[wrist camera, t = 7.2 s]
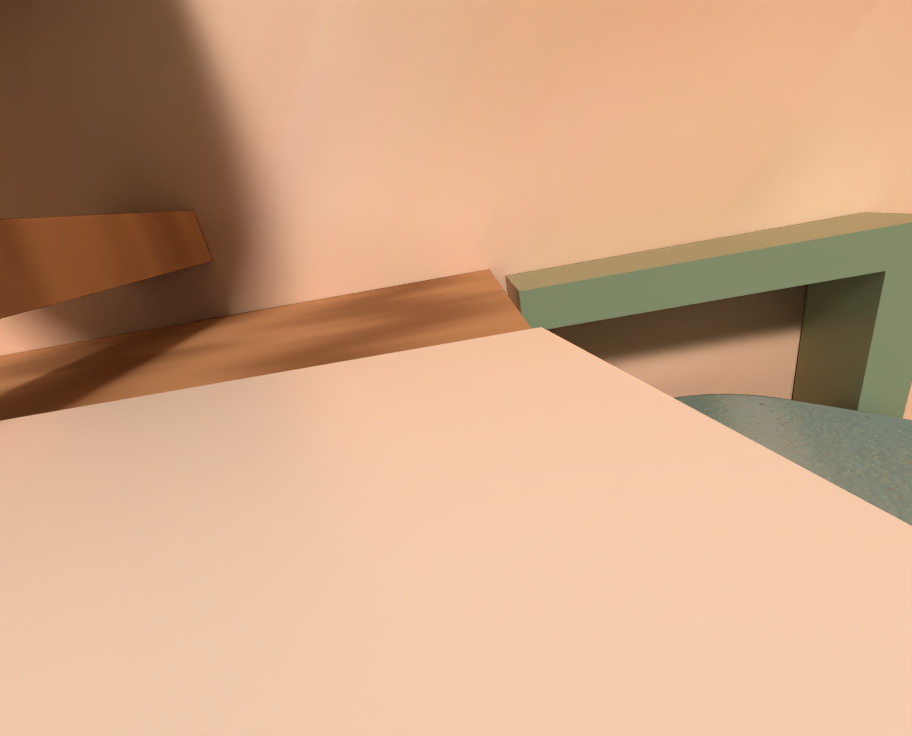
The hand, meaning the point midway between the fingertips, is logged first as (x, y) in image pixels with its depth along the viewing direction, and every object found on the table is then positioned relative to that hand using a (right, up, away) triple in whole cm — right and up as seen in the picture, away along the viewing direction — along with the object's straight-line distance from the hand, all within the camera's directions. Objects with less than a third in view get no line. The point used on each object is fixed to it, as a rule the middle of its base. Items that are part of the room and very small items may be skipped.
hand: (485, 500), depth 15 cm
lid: (-9, +1, -15) cm, 18 cm away
